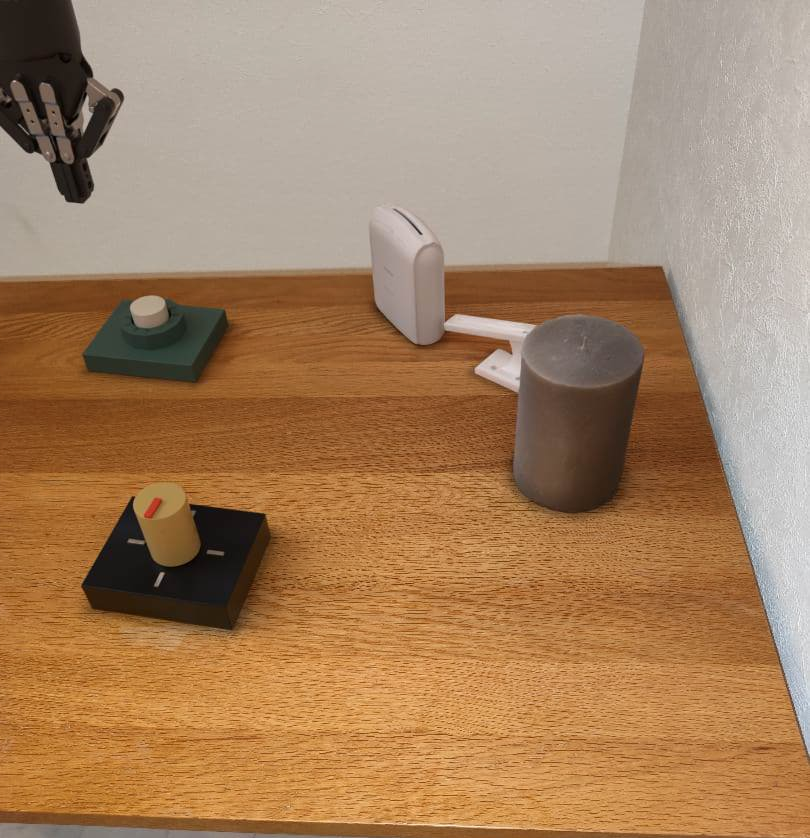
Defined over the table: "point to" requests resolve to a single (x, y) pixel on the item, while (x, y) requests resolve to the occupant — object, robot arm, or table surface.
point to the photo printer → (408, 273)
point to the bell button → (149, 312)
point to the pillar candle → (575, 410)
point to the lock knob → (167, 523)
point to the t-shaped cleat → (499, 363)
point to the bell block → (157, 343)
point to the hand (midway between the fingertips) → (79, 198)
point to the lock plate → (181, 570)
